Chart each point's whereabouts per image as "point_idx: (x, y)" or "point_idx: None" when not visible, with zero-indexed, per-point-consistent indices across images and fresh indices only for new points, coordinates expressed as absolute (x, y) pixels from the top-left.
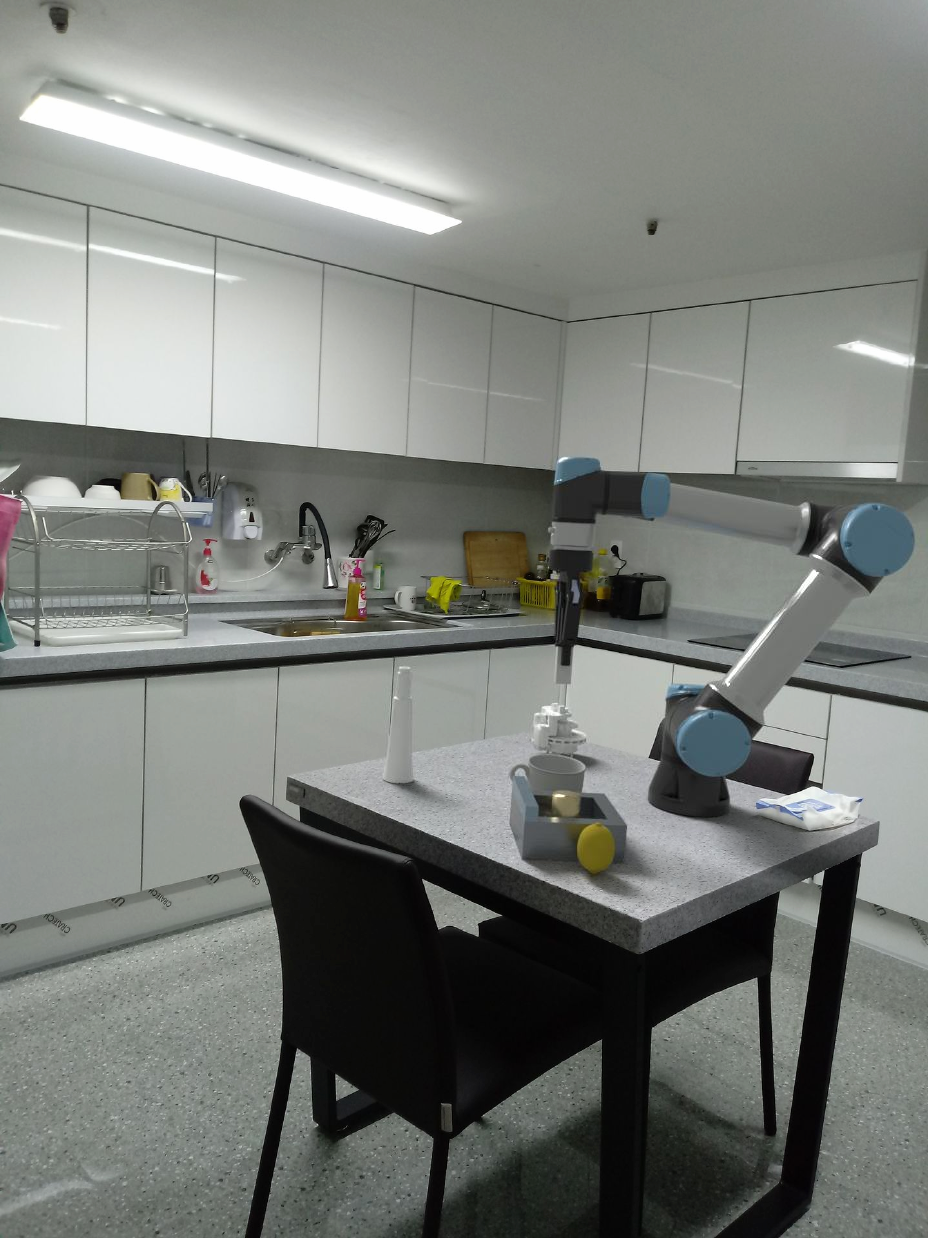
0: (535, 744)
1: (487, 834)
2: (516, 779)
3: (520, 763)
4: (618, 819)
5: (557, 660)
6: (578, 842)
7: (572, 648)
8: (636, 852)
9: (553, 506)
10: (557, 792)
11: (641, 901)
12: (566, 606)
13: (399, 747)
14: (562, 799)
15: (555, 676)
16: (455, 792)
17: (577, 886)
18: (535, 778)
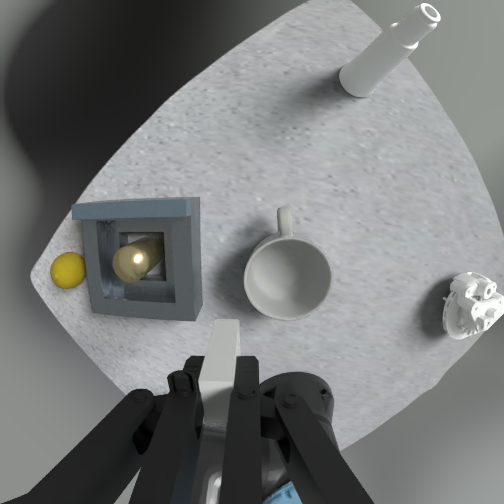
0: (460, 275)
1: (162, 168)
2: (168, 202)
3: (283, 223)
4: (107, 310)
5: (206, 353)
6: (64, 254)
7: (205, 417)
8: (138, 318)
9: None
10: (134, 254)
11: (49, 287)
12: (50, 495)
13: (358, 60)
14: (114, 255)
15: (221, 327)
16: (316, 141)
17: (60, 244)
18: (263, 242)
